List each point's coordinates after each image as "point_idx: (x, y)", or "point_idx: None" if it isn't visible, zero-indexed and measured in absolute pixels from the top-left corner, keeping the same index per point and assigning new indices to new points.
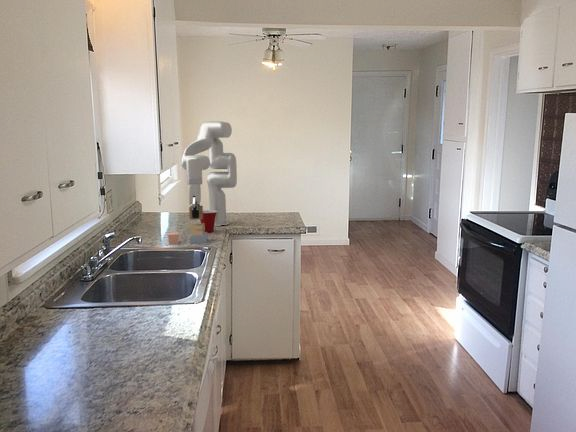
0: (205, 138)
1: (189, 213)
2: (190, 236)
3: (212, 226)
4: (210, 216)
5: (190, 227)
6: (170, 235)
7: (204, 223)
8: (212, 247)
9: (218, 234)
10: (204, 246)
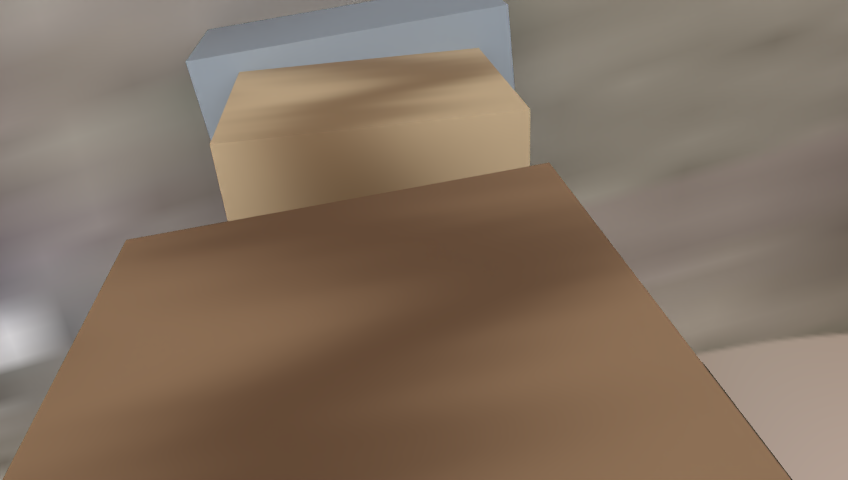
0: None
1: (52, 390)
2: (191, 77)
3: None
4: None
5: (218, 130)
6: None
7: None
8: (34, 410)
9: (778, 277)
10: (56, 307)
